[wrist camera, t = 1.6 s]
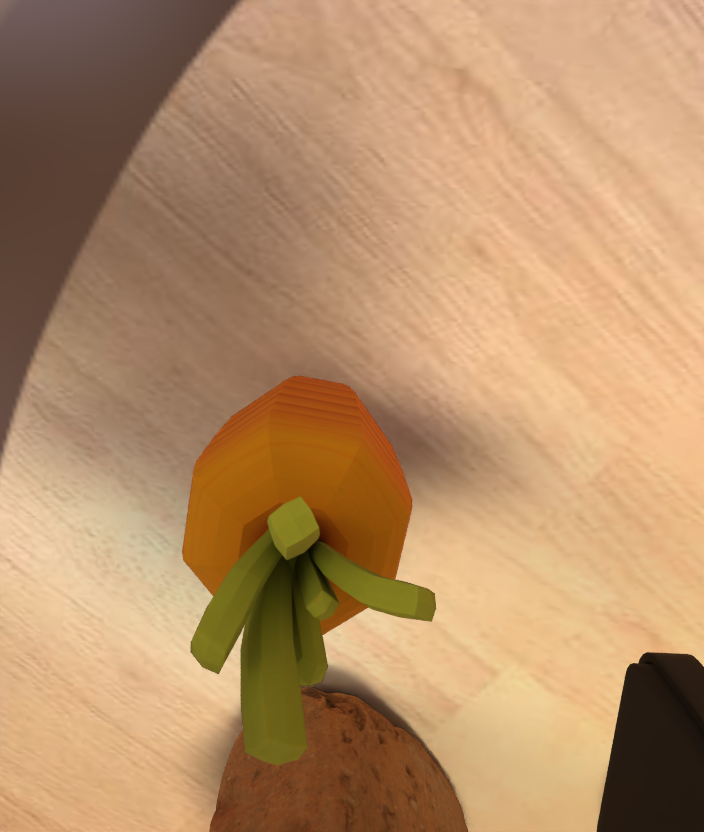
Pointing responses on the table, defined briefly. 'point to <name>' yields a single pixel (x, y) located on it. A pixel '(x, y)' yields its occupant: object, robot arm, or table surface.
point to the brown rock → (339, 779)
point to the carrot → (294, 546)
